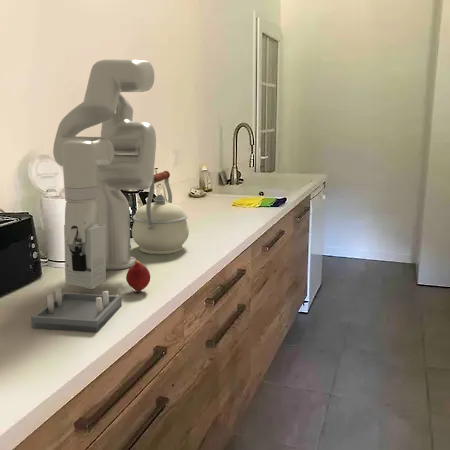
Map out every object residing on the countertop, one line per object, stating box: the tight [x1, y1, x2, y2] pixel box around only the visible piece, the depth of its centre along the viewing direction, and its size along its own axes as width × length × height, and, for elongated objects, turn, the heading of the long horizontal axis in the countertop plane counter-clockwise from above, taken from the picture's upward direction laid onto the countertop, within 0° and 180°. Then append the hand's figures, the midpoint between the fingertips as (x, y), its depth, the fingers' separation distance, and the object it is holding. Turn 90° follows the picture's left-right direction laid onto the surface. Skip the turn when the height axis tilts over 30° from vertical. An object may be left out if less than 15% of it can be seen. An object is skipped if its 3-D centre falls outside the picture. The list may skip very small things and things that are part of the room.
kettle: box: [131, 170, 190, 255], centre depth 168 cm, size 25×18×25 cm
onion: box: [125, 259, 151, 293], centre depth 127 cm, size 6×6×8 cm
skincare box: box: [63, 224, 107, 290], centre depth 124 cm, size 8×6×15 cm
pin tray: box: [30, 287, 123, 333], centre depth 112 cm, size 15×14×5 cm
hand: (85, 265), depth 125 cm, fingers closed on skincare box, 7 cm apart
